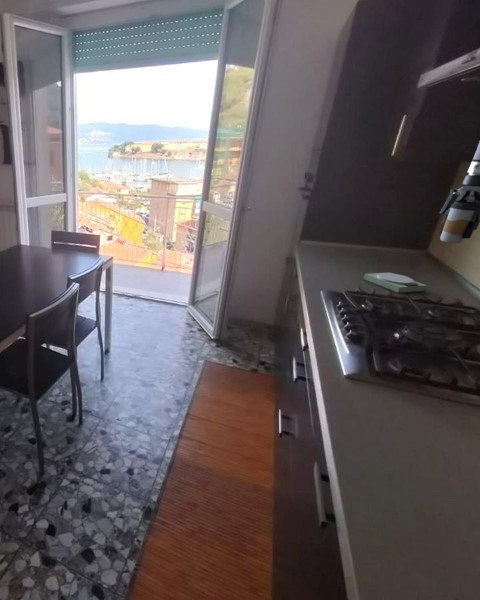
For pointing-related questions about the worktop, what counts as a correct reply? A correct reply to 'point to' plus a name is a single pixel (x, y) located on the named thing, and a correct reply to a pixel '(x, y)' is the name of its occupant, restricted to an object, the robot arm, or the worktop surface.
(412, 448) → the worktop surface
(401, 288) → the kitchen scale
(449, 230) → the coffee cup
